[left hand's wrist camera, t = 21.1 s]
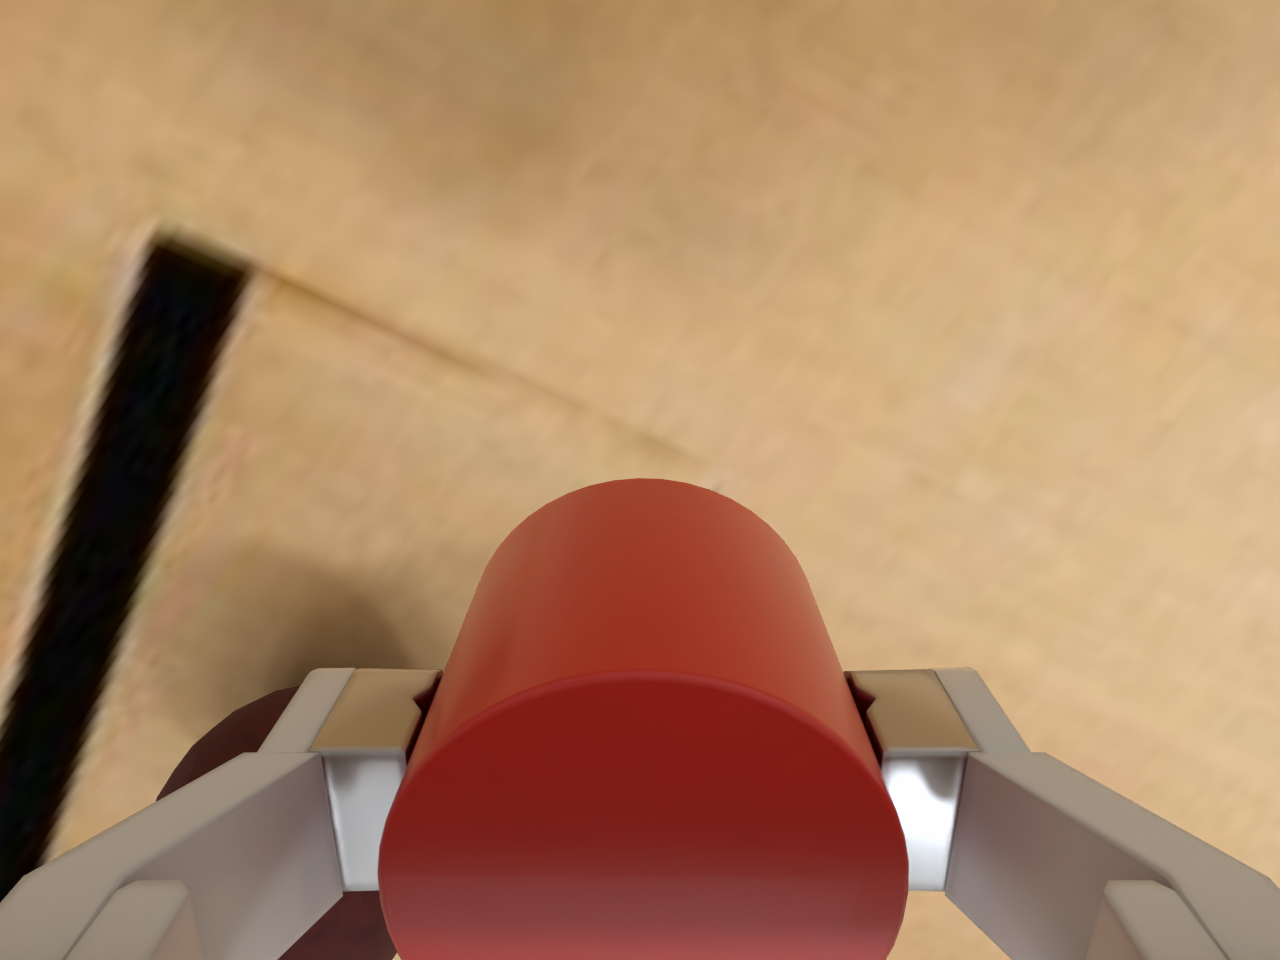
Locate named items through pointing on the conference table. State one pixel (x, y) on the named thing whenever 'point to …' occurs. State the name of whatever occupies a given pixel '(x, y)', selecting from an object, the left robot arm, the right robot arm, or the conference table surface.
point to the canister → (643, 754)
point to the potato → (354, 926)
